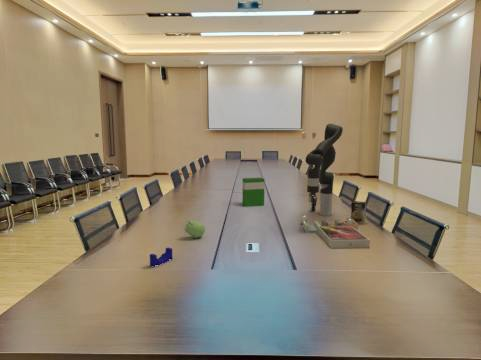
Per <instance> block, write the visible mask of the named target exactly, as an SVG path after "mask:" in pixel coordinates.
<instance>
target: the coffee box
mask: <svg viewBox="0 0 481 360" xmlns="http://www.w3.org/2000/svg"><path fill="white" fill-rule="evenodd" d="M350 210H351V212H350V218H353V219H354V221H355V222H356V223H357V224H358V225H365V224H366V214H367V201H361V200H360V201H358V200H357V201H356V200H353V201H351V209H350Z"/></svg>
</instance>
